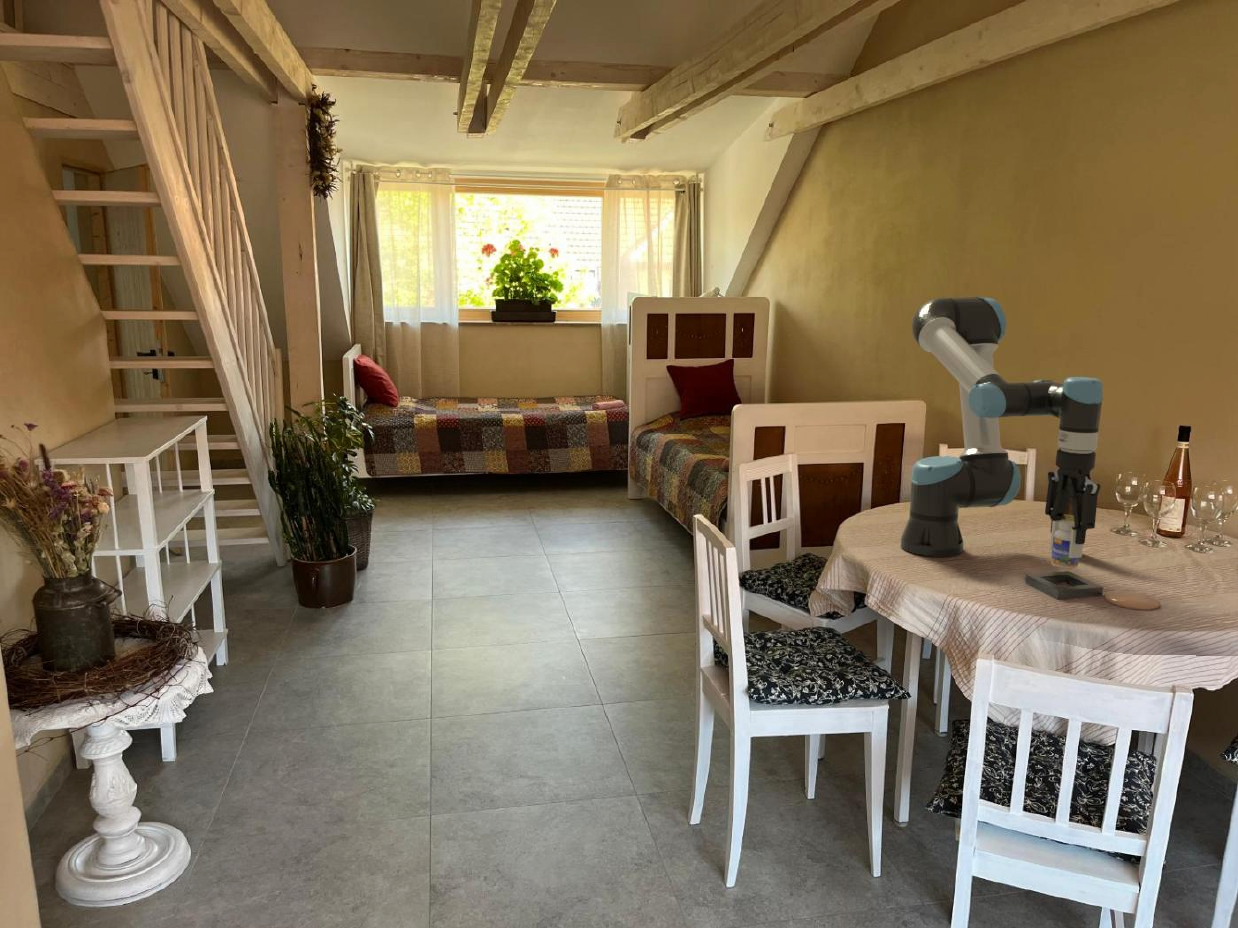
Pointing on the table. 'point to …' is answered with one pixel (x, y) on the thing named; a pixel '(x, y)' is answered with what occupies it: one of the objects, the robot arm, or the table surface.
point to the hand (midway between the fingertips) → (1065, 552)
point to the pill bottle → (1063, 546)
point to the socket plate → (1076, 590)
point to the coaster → (1132, 600)
